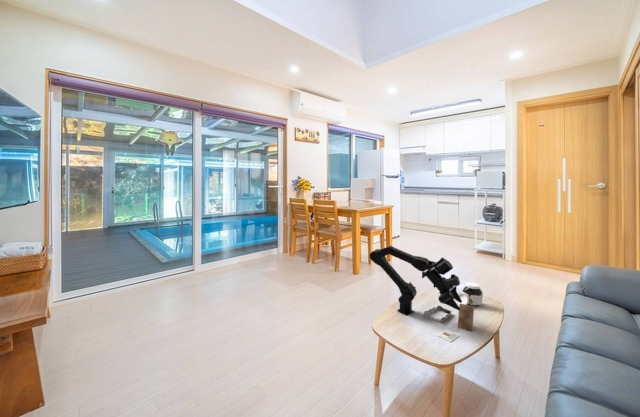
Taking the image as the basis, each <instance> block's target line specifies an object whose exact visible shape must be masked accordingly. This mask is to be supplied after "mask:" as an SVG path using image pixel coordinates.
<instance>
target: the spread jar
mask: <svg viewBox="0 0 640 417" xmlns="http://www.w3.org/2000/svg"><path fill="white" fill-rule="evenodd" d="M480 287H481V285H480V284H479V283H477V282H473V281H471V282H470V281H468V282H466V283H465V286H464V287H463V289H462V292H460V293H458V295H459V297H460V299H461V300H462V302H461V304H466V305H470V306H474V308H476V307H477V308H478V307H479V306H481V304H482V303H483V297H484V296H483V295H484V294H483V291H482V289H481V288H480ZM456 303H457V305H458V306H460V302H458V301H457V300H456Z"/></svg>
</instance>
